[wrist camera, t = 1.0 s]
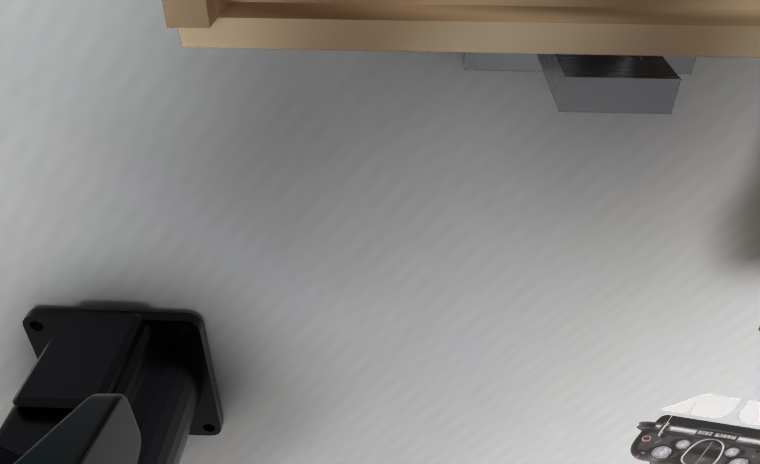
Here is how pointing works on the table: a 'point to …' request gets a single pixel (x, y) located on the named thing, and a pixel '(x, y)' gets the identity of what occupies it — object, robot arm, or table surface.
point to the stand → (598, 79)
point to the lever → (475, 26)
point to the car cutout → (701, 434)
